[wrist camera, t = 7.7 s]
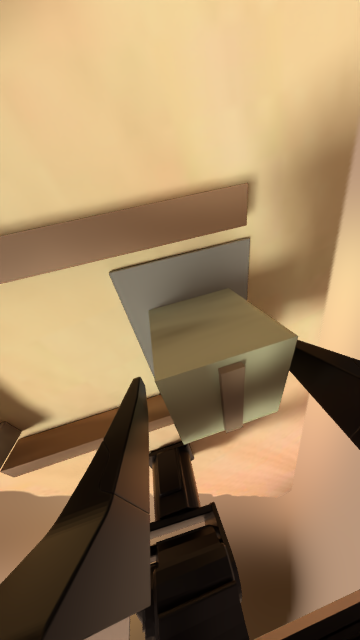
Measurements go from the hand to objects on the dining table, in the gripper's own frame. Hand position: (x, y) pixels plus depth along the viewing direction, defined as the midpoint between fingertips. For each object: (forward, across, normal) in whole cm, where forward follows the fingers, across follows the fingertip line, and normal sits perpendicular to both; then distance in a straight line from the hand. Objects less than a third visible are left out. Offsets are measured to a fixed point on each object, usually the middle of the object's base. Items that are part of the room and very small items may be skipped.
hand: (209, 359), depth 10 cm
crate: (+3, 0, 0) cm, 3 cm away
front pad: (+4, 0, 0) cm, 4 cm away
